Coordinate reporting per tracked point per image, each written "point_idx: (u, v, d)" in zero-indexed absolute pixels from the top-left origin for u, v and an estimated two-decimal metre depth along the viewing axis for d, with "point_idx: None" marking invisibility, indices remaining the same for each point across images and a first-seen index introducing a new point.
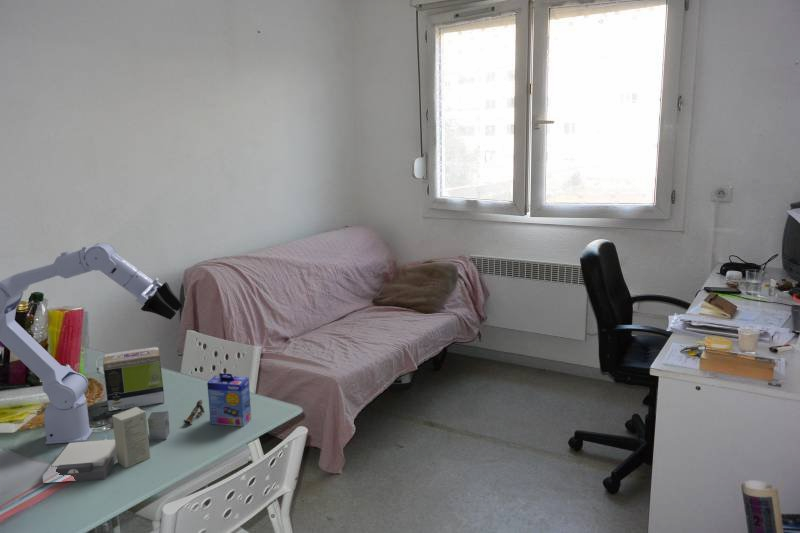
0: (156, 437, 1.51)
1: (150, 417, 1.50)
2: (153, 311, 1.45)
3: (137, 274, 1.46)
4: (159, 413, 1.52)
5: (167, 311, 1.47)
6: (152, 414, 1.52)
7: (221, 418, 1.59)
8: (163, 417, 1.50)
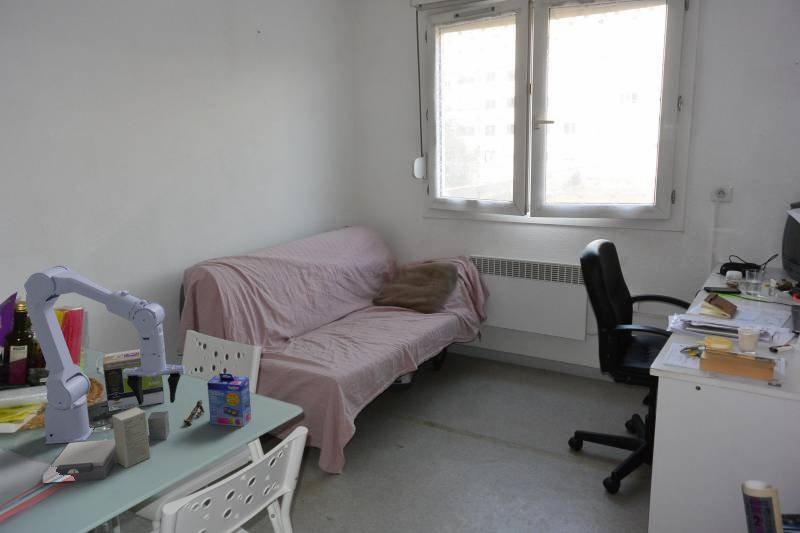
0: (156, 437, 1.51)
1: (150, 417, 1.50)
2: None
3: (143, 356, 1.46)
4: (159, 413, 1.52)
5: None
6: (152, 414, 1.52)
7: (221, 418, 1.59)
8: (163, 417, 1.50)
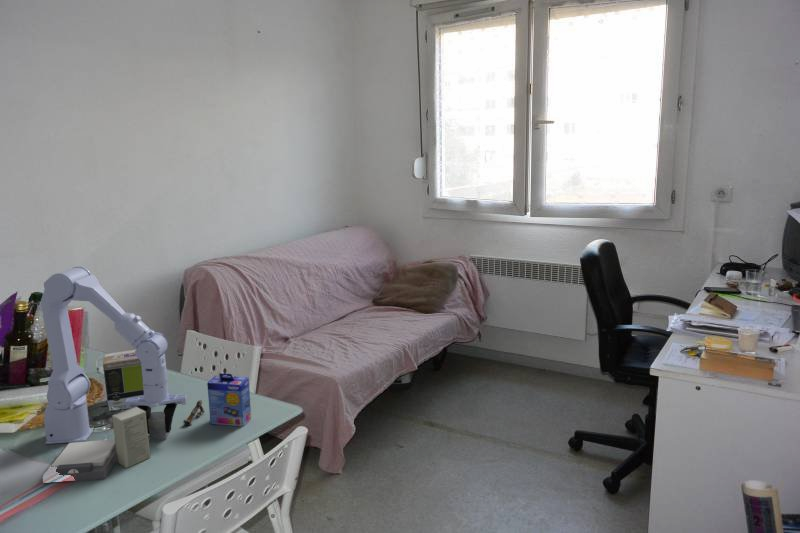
0: (156, 437, 1.51)
1: (150, 417, 1.50)
2: None
3: (146, 387, 1.47)
4: (159, 413, 1.52)
5: None
6: (152, 414, 1.52)
7: (221, 418, 1.59)
8: (163, 417, 1.50)
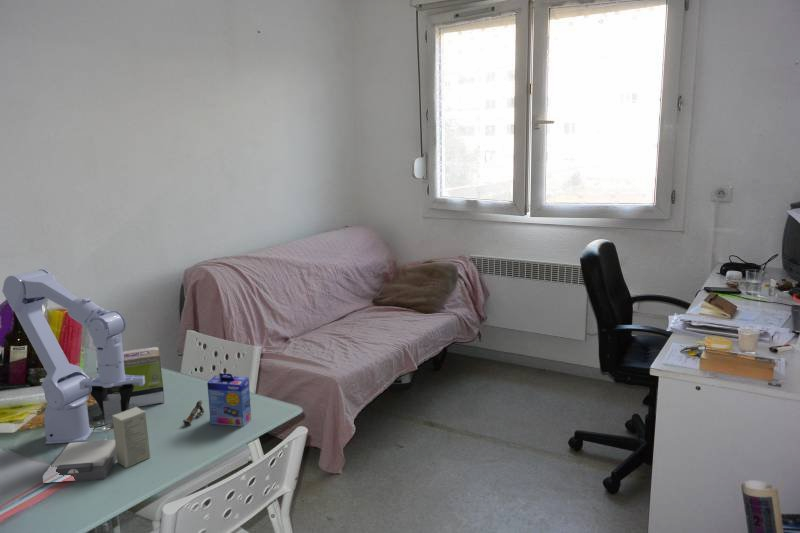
0: (112, 420, 1.45)
1: (105, 399, 1.45)
2: None
3: (100, 367, 1.42)
4: (116, 396, 1.47)
5: None
6: (108, 396, 1.46)
7: (221, 418, 1.59)
8: (119, 399, 1.45)
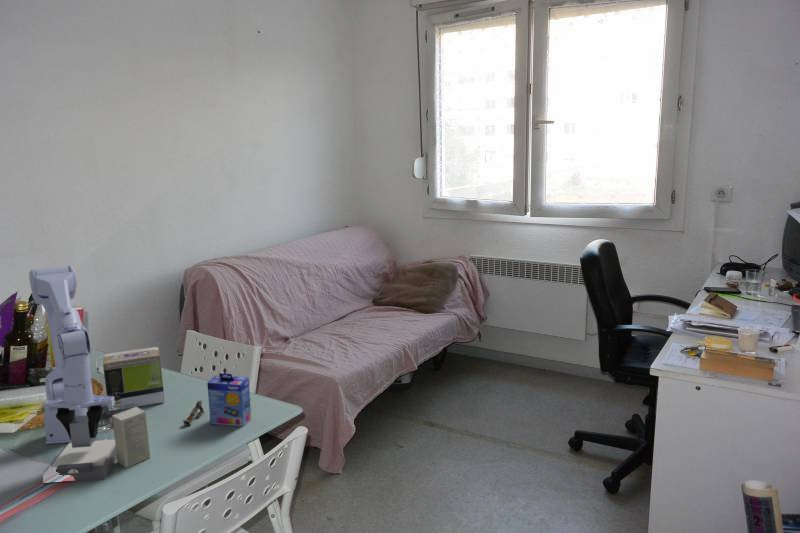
0: (79, 443, 1.37)
1: (72, 421, 1.37)
2: None
3: (66, 388, 1.34)
4: (84, 417, 1.39)
5: None
6: (76, 418, 1.38)
7: (221, 418, 1.59)
8: (87, 421, 1.37)
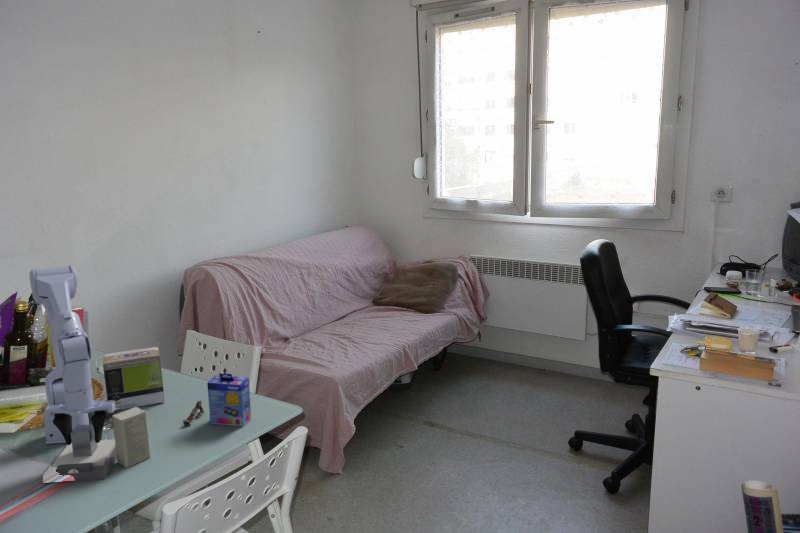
0: (80, 453, 1.37)
1: (74, 431, 1.37)
2: None
3: (67, 393, 1.34)
4: (85, 427, 1.39)
5: None
6: (77, 427, 1.39)
7: (221, 418, 1.59)
8: (88, 431, 1.37)
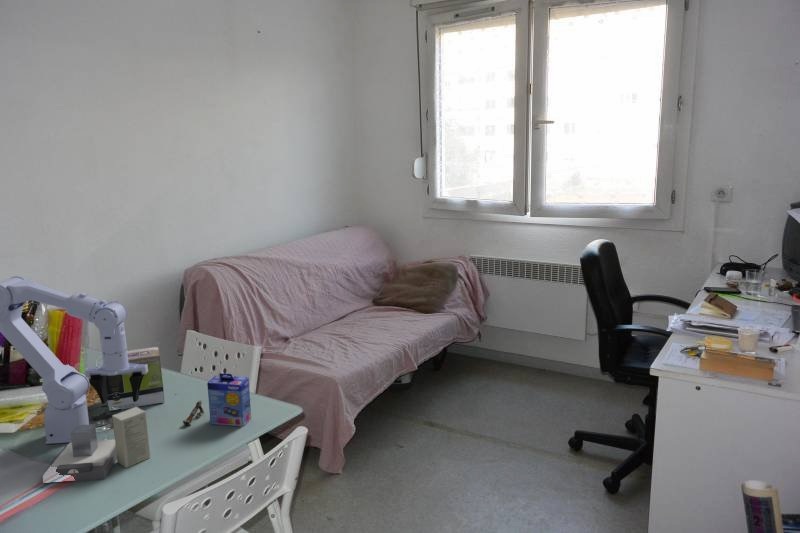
0: (80, 453, 1.37)
1: (74, 431, 1.37)
2: None
3: (105, 356, 1.47)
4: (85, 427, 1.39)
5: None
6: (77, 427, 1.39)
7: (221, 418, 1.59)
8: (88, 431, 1.37)
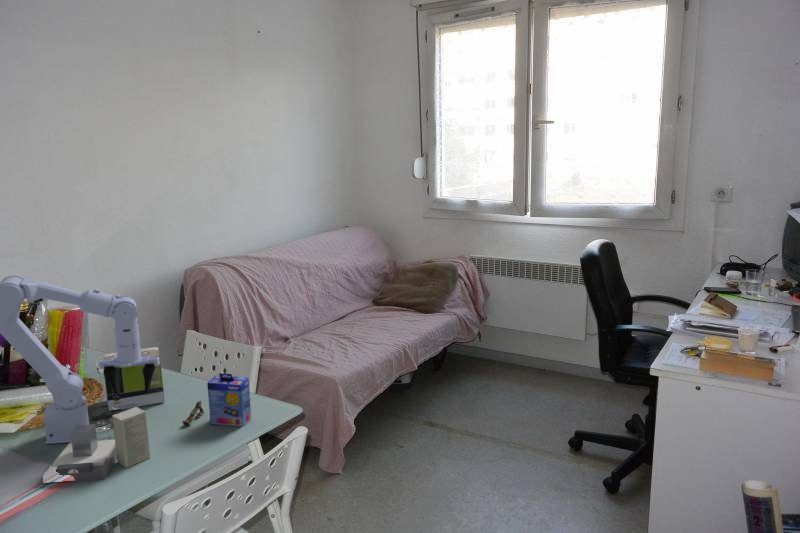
0: (80, 453, 1.37)
1: (74, 431, 1.37)
2: None
3: (119, 348, 1.52)
4: (85, 427, 1.39)
5: None
6: (77, 427, 1.39)
7: (221, 418, 1.59)
8: (88, 431, 1.37)
